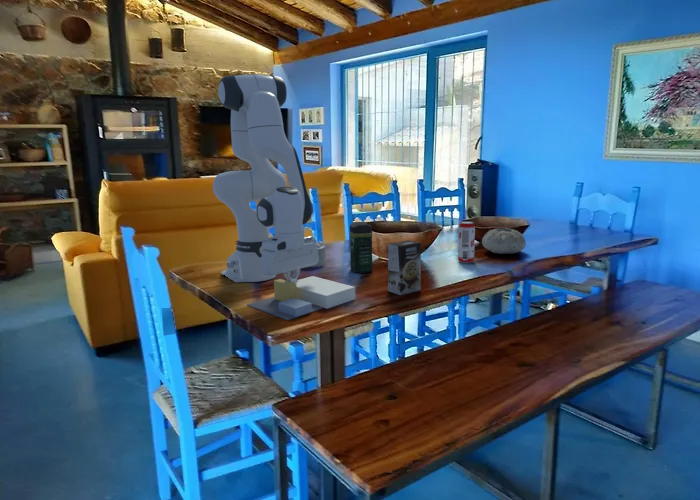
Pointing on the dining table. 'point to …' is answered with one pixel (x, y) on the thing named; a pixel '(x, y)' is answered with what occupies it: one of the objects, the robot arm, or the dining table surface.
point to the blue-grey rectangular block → (295, 307)
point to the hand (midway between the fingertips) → (292, 283)
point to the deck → (324, 292)
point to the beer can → (466, 242)
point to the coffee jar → (361, 247)
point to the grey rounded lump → (504, 241)
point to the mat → (275, 308)
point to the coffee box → (404, 267)
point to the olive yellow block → (284, 290)
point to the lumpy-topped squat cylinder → (320, 255)
